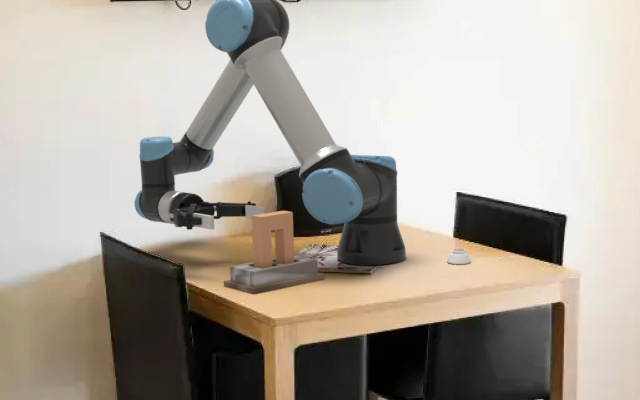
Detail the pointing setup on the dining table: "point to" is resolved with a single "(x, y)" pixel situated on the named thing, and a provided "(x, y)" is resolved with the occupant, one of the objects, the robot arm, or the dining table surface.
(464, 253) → the grey bowl
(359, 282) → the dining table surface
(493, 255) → the dining table surface
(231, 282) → the grey socket block
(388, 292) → the dining table surface
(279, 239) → the tan arch block
